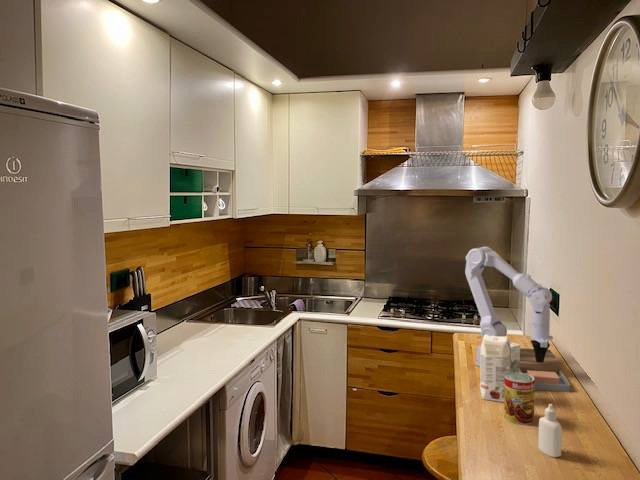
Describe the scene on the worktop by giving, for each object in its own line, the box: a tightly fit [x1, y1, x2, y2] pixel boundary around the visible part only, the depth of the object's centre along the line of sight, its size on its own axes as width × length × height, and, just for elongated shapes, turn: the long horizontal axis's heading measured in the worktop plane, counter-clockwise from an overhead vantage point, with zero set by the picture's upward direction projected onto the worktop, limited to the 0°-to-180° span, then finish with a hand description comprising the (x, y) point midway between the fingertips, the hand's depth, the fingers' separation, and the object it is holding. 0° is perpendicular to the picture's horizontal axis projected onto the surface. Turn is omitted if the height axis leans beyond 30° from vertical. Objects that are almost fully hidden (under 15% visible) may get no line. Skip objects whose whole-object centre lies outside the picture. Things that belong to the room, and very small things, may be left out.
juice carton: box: [479, 335, 511, 403], centre depth 154 cm, size 8×9×19 cm
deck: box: [519, 347, 562, 375], centre depth 182 cm, size 18×14×4 cm
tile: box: [527, 370, 559, 384], centre depth 168 cm, size 6×9×2 cm, turn 77°
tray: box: [519, 368, 572, 393], centre depth 167 cm, size 14×14×2 cm
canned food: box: [503, 372, 536, 426], centre depth 140 cm, size 8×8×12 cm
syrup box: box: [510, 341, 521, 372], centre depth 163 cm, size 6×6×14 cm
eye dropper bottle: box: [537, 403, 563, 458], centre depth 121 cm, size 4×6×12 cm
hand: (539, 361), depth 173 cm, fingers closed
